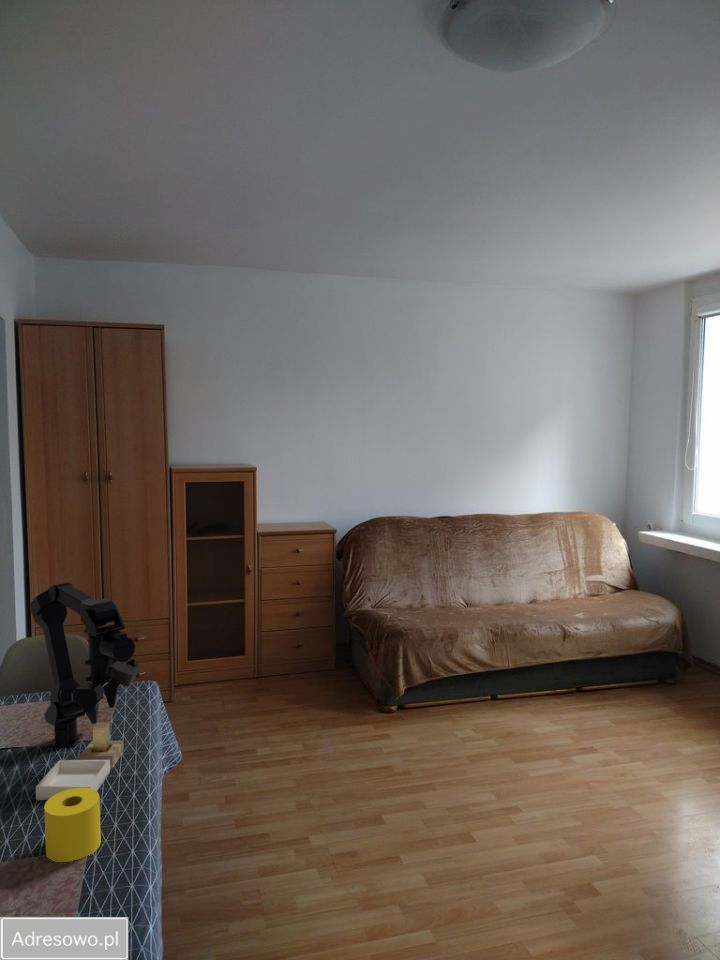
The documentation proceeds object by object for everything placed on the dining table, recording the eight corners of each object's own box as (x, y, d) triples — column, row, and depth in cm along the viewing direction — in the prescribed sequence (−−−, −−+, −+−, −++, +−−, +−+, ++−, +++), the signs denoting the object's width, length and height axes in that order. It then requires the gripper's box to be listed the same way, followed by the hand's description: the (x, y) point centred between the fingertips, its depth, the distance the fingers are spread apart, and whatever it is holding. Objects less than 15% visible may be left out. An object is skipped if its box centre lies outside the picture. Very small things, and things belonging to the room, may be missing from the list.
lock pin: (98, 757, 171) (97, 722, 170) (110, 756, 171) (109, 722, 170) (93, 762, 168) (92, 727, 167) (105, 762, 168) (105, 727, 167)
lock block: (91, 752, 173) (91, 740, 173) (123, 752, 173) (123, 740, 173) (79, 768, 165) (79, 756, 165) (112, 767, 165) (112, 755, 165)
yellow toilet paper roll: (66, 869, 128) (65, 821, 127) (35, 851, 133) (33, 805, 132) (111, 842, 136) (110, 797, 135) (80, 826, 141) (78, 782, 140)
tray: (59, 772, 163) (58, 760, 163) (110, 771, 163) (110, 759, 163) (36, 800, 151) (35, 787, 151) (91, 799, 151) (90, 786, 151)
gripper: (115, 667, 155) (117, 733, 156) (148, 642, 174) (150, 701, 175) (69, 666, 156) (71, 731, 157) (106, 641, 175) (108, 699, 176)
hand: (103, 715), depth 166 cm, fingers open, 9 cm apart
